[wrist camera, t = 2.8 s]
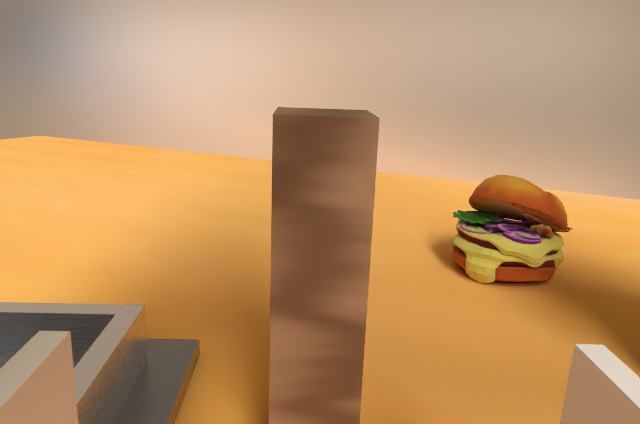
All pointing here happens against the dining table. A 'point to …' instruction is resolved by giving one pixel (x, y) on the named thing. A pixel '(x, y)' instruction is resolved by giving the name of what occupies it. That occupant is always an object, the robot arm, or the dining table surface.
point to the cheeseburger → (510, 232)
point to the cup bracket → (109, 359)
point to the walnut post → (320, 262)
